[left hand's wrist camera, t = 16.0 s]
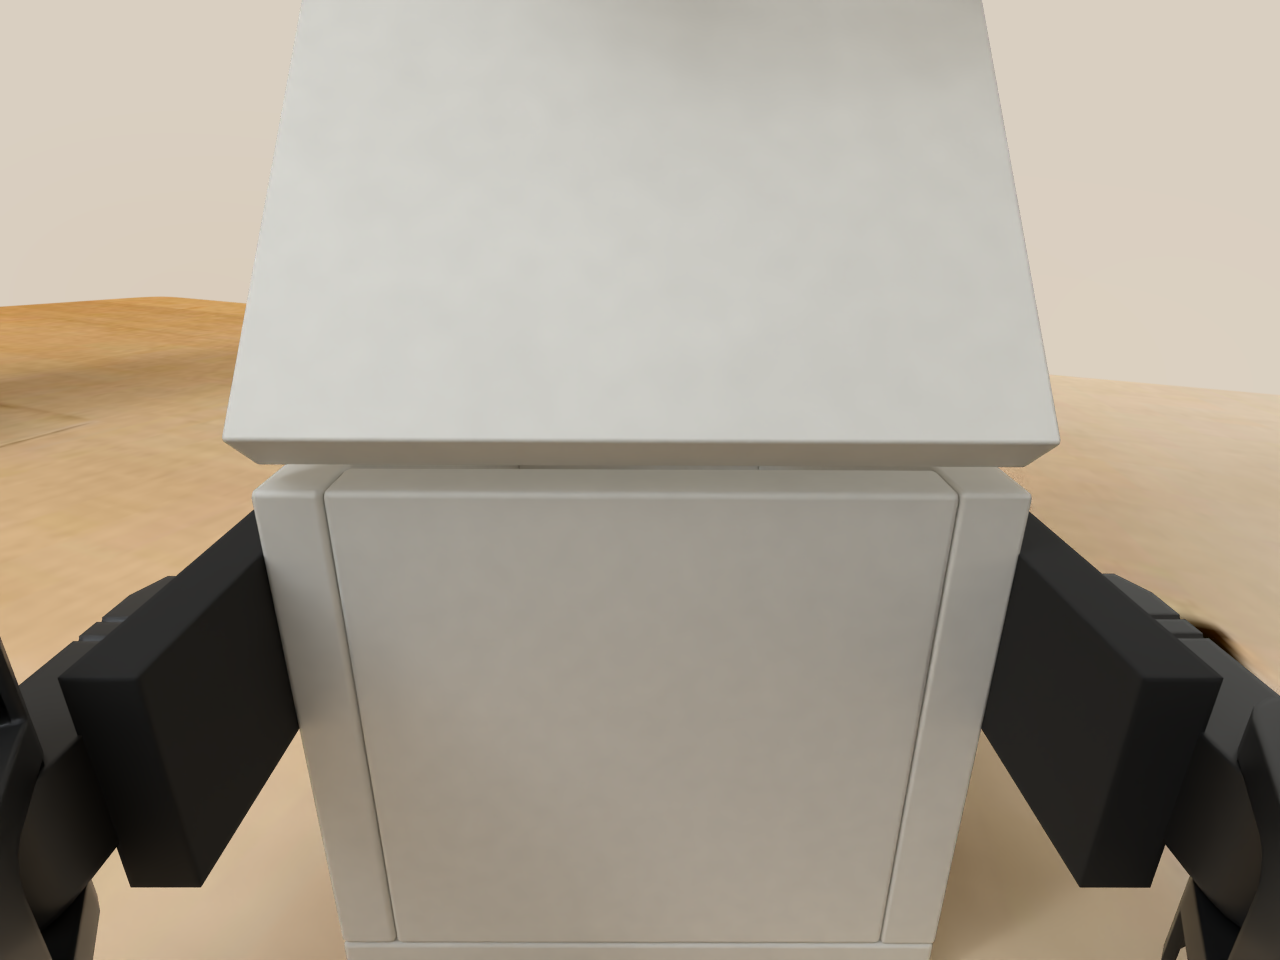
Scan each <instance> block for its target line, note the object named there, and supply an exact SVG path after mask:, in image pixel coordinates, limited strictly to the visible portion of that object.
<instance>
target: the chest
mask: <svg viewBox="0 0 1280 960" xmlns="http://www.w3.org/2000/svg"><path fill="white" fill-rule="evenodd" d="M1031 500H1032V498H1031V494H1030V493H1029V492H1028V491H1026V490H1025V489H1024V488H1023V487H1021V486H1020V485H1019V484H1018V483H1016V482H1015V481H1014V480H1013V479H1012V478H1010V477H1009V476H1008V475H1007V474H1005V473H1004V472H1003V471H1002V470H1000V469H999V468H998V467H864V466H595V465H325V464H286V465H284V466H283V467H282V468H281V469H280V470H278V471H277V472H276V473H275V474H273V475H272V476H271V477H270V478H269V479H267V480H266V481H265V482H264V483H262V484H261V485H260V486H259V487H257V488H256V489H255V490H254V491H253V494H252V502H253V507H254V511H255V516H256V521H257V526H258V531H259V535H260V540H261V545H262V550H263V555H264V560H265V564H266V569H267V574H268V579H269V584H270V589H271V593H272V598H273V603H274V608H275V613H276V618H277V622H278V627H279V632H280V637H281V642H282V647H283V651H284V656H285V661H286V666H287V671H288V676H289V680H290V685H291V690H292V695H293V700H294V705H295V709H296V714H297V719H298V724H299V729H300V734H301V738H302V743H303V748H304V753H305V758H306V763H307V767H308V772H309V777H310V782H311V787H312V791H313V796H314V801H315V806H316V811H317V816H318V820H319V825H320V830H321V835H322V840H323V845H324V849H325V854H326V859H327V864H328V869H329V874H330V878H331V883H332V888H333V893H334V898H335V903H336V907H337V912H338V917H339V922H340V927H341V932H342V936H343V939H344V940H345V943H344V944H345V951H346V956H347V960H930V956H931V951H932V943H933V942H934V941H935V937H936V932H937V927H938V923H939V918H940V914H941V909H942V905H943V900H944V896H945V891H946V887H947V882H948V877H949V873H950V868H951V864H952V859H953V855H954V850H955V846H956V841H957V836H958V832H959V827H960V823H961V818H962V814H963V809H964V805H965V800H966V796H967V791H968V786H969V782H970V777H971V773H972V768H973V764H974V759H975V755H976V750H977V745H978V741H979V736H980V732H981V727H982V722H983V718H984V713H985V709H986V704H987V699H988V695H989V690H990V685H991V681H992V676H993V671H994V667H995V662H996V657H997V653H998V648H999V643H1000V639H1001V634H1002V630H1003V625H1004V620H1005V616H1006V611H1007V606H1008V602H1009V597H1010V592H1011V588H1012V583H1013V578H1014V574H1015V569H1016V564H1017V560H1018V555H1019V554H1020V550H1021V545H1022V541H1023V536H1024V532H1025V527H1026V523H1027V518H1028V513H1029V509H1030V504H1031Z"/></svg>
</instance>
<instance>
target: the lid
mask: <svg viewBox="0 0 1280 960" xmlns="http://www.w3.org/2000/svg"><path fill="white" fill-rule="evenodd" d="M222 438H223V441H224V442H225V443H227V444H228V445H230V446H231V447H233V448H234V449H236V450H237V451H239V452H240V453H242V454H243V455H245V456H246V457H248V458H249V459H251V460H252V461H254V462H255V463H257V464H325V465H595V466H864V467H1025V466H1027V465H1028V464H1030V463H1031V462H1033V461H1034V460H1036V459H1038V458H1039V457H1041V456H1042V455H1044V454H1045V453H1047V452H1048V451H1050V450H1052V449H1053V448H1055V447H1056V446H1058V445H1059V444H1060V435H1059V429H1058V424H1057V418H1056V413H1055V407H1054V401H1053V396H1052V390H1051V385H1050V379H1049V373H1048V368H1047V363H1046V357H1045V351H1044V345H1043V340H1042V334H1041V329H1040V323H1039V318H1038V312H1037V307H1036V301H1035V295H1034V290H1033V284H1032V278H1031V273H1030V267H1029V262H1028V256H1027V250H1026V245H1025V239H1024V234H1023V228H1022V222H1021V217H1020V211H1019V206H1018V200H1017V195H1016V189H1015V183H1014V178H1013V172H1012V166H1011V161H1010V155H1009V150H1008V144H1007V138H1006V133H1005V128H1004V122H1003V116H1002V111H1001V105H1000V99H999V94H998V88H997V82H996V77H995V71H994V66H993V60H992V55H991V49H990V43H989V38H988V32H987V27H986V21H985V15H984V10H983V4H982V0H302V3H301V9H300V14H299V20H298V25H297V31H296V36H295V41H294V47H293V53H292V58H291V63H290V69H289V74H288V80H287V85H286V91H285V96H284V102H283V107H282V113H281V118H280V124H279V129H278V135H277V140H276V146H275V151H274V157H273V162H272V168H271V173H270V178H269V184H268V189H267V195H266V200H265V206H264V211H263V217H262V222H261V228H260V233H259V239H258V244H257V250H256V255H255V261H254V266H253V272H252V277H251V283H250V288H249V294H248V299H247V305H246V310H245V316H244V321H243V326H242V332H241V337H240V343H239V348H238V354H237V359H236V365H235V370H234V376H233V381H232V387H231V392H230V398H229V403H228V409H227V414H226V420H225V425H224V431H223V436H222Z"/></svg>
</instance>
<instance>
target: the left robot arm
mask: <svg viewBox="0 0 1280 960" xmlns="http://www.w3.org/2000/svg"><path fill="white" fill-rule="evenodd" d="M981 729H982V730H983V732H984V734H985V735H986V737H987V738H988V740H989V742H990V743H991V745H992V746H993V748H994V750H995V751H996V753H997V754H998V756H999V758H1000V759H1001V761H1002V763H1003V764H1004V766H1005V767H1006V769H1007V771H1008V772H1009V774H1010V775H1011V777H1012V779H1013V780H1014V782H1015V784H1016V785H1017V787H1018V788H1019V790H1020V792H1021V793H1022V795H1023V796H1024V798H1025V800H1026V801H1027V803H1028V804H1029V806H1030V808H1031V809H1032V811H1033V813H1034V814H1035V816H1036V817H1037V819H1038V821H1039V822H1040V824H1041V825H1042V827H1043V829H1044V830H1045V832H1046V834H1047V835H1048V837H1049V838H1050V840H1051V842H1052V843H1053V845H1054V846H1055V848H1056V850H1057V851H1058V853H1059V854H1060V856H1061V858H1062V859H1063V861H1064V863H1065V864H1066V866H1067V867H1068V869H1069V871H1070V872H1071V874H1072V875H1073V877H1074V879H1075V880H1076V882H1077V884H1078V885H1079V887H1128V888H1150V887H1151V884H1152V881H1153V878H1154V875H1155V872H1156V870H1157V867H1158V864H1159V861H1160V858H1161V855H1162V852H1163V850H1164V847H1165V844H1166V846H1167V847H1168V848H1169V850H1170V851H1171V852H1172V853H1173V855H1174V856H1175V857H1176V858H1177V860H1178V861H1179V862H1180V863H1181V865H1182V866H1183V867H1184V869H1185V870H1186V871H1187V872H1188V874H1189V875H1190V877H1189V880H1188V882H1187V885H1186V888H1185V890H1184V893H1183V896H1182V898H1181V901H1180V904H1179V906H1178V909H1177V912H1176V914H1175V917H1174V920H1173V922H1172V925H1171V928H1170V930H1169V933H1168V936H1167V938H1166V941H1165V944H1164V948H1163V953H1162V959H1161V960H1176V958H1177V956H1178V953H1179V951H1180V949H1181V948H1183V947H1185V946H1186V952H1187V959H1188V960H1280V696H1279V695H1278V694H1277V693H1276V692H1274V691H1273V690H1272V689H1271V688H1269V687H1268V686H1267V685H1266V684H1264V683H1263V682H1262V681H1261V680H1259V679H1258V678H1257V677H1256V676H1255V675H1253V674H1252V673H1251V672H1250V671H1248V670H1247V669H1246V668H1245V667H1243V666H1242V665H1241V664H1240V663H1238V662H1237V661H1236V660H1235V659H1234V658H1232V657H1231V656H1230V655H1229V654H1227V653H1226V652H1225V651H1224V650H1222V649H1221V648H1220V647H1219V646H1217V645H1216V644H1215V643H1214V642H1212V641H1211V640H1210V639H1204V638H1203V633H1201V632H1200V631H1199V630H1198V629H1196V628H1195V627H1194V626H1193V625H1191V624H1190V623H1189V622H1188V621H1187V620H1185V619H1180V615H1179V614H1178V613H1177V612H1175V611H1174V610H1173V609H1172V608H1170V607H1169V606H1168V605H1167V604H1165V603H1164V602H1163V601H1162V600H1161V599H1159V598H1158V597H1157V596H1156V595H1154V594H1153V593H1152V592H1150V591H1148V590H1146V589H1144V588H1142V587H1140V586H1138V585H1136V584H1134V583H1132V582H1130V581H1128V580H1126V579H1124V578H1121V577H1119V576H1117V575H1115V574H1102V573H1100V572H1099V571H1098V570H1097V569H1096V568H1095V567H1093V566H1092V565H1091V564H1090V563H1089V562H1088V561H1086V560H1085V559H1084V558H1083V557H1082V556H1081V555H1079V554H1078V553H1077V552H1076V551H1075V550H1074V549H1072V548H1071V547H1070V546H1069V545H1068V544H1067V543H1065V542H1064V541H1063V540H1062V539H1061V538H1059V537H1058V536H1057V535H1056V534H1055V533H1054V532H1052V531H1051V530H1050V529H1049V528H1048V527H1047V526H1045V525H1044V524H1043V523H1042V522H1041V521H1040V520H1038V519H1037V518H1036V517H1035V516H1034V515H1033V514H1031V513H1030V512H1029V513H1028V518H1027V523H1026V527H1025V532H1024V536H1023V541H1022V545H1021V550H1020V554H1019V555H1018V560H1017V564H1016V569H1015V574H1014V578H1013V583H1012V588H1011V592H1010V597H1009V602H1008V606H1007V611H1006V616H1005V620H1004V625H1003V630H1002V634H1001V639H1000V643H999V648H998V653H997V657H996V662H995V667H994V671H993V676H992V681H991V685H990V690H989V695H988V699H987V704H986V709H985V713H984V718H983V722H982V727H981ZM298 730H299V724H298V719H297V714H296V709H295V705H294V700H293V695H292V690H291V685H290V680H289V676H288V671H287V666H286V661H285V656H284V651H283V647H282V642H281V637H280V632H279V627H278V622H277V618H276V613H275V608H274V603H273V598H272V593H271V589H270V584H269V579H268V574H267V569H266V564H265V560H264V555H263V550H262V545H261V540H260V535H259V531H258V526H257V521H256V516H255V511H254V510H253V511H252V512H250V513H249V514H248V515H247V516H246V517H245V518H243V519H242V520H241V521H240V522H239V523H238V524H236V525H235V526H234V527H233V528H232V529H231V530H229V531H228V532H227V533H226V534H225V535H224V536H222V537H221V538H220V539H219V540H218V541H217V542H215V543H214V544H213V545H212V546H211V547H210V548H208V549H207V550H206V551H205V552H204V553H203V554H201V555H200V556H199V557H198V558H197V559H196V560H194V561H193V562H192V563H191V564H190V565H189V566H187V567H186V568H185V569H184V570H183V571H182V572H180V573H179V574H178V575H177V576H167V577H165V578H163V579H161V580H159V581H157V582H155V583H153V584H151V585H149V586H147V587H145V588H143V589H141V590H139V591H137V592H135V593H133V594H131V595H129V596H128V597H127V598H126V599H124V600H123V601H122V602H121V603H119V604H118V605H117V606H116V607H115V608H113V609H112V610H111V611H110V612H108V613H107V614H106V615H105V616H104V617H102V622H96V623H95V624H94V625H92V626H91V627H90V628H89V629H88V630H86V631H85V632H84V633H83V634H81V635H80V636H79V641H73V642H72V643H70V644H69V645H68V646H67V647H66V648H64V649H63V650H62V651H61V652H59V653H58V654H57V655H56V656H54V657H53V658H52V659H51V660H50V661H48V662H47V663H46V664H45V665H43V666H42V667H41V668H40V669H39V670H37V671H36V672H35V673H34V674H32V675H31V676H30V677H29V678H27V679H26V680H25V681H24V682H23V683H21V684H20V685H19V686H18V683H17V680H16V678H15V675H14V672H13V670H12V667H11V664H10V662H9V659H8V656H7V654H6V651H5V648H4V646H3V643H2V640H1V638H0V960H93V955H94V948H95V941H96V934H97V927H98V921H99V914H100V908H99V902H98V897H97V893H96V890H95V888H94V885H93V882H92V880H91V879H92V878H93V876H94V875H95V874H96V873H97V871H98V870H99V869H100V868H101V866H102V865H103V864H104V862H105V861H106V860H107V859H108V857H109V856H110V855H111V853H112V852H113V851H114V850H115V848H116V847H117V850H118V852H119V855H120V858H121V861H122V864H123V867H124V870H125V872H126V875H127V878H128V881H129V884H130V887H201V886H202V885H203V883H204V882H205V880H206V878H207V877H208V875H209V873H210V872H211V870H212V869H213V867H214V865H215V864H216V862H217V861H218V859H219V857H220V856H221V854H222V852H223V851H224V849H225V848H226V846H227V844H228V843H229V841H230V840H231V838H232V836H233V835H234V833H235V831H236V830H237V828H238V827H239V825H240V823H241V822H242V820H243V819H244V817H245V815H246V814H247V812H248V811H249V809H250V807H251V806H252V804H253V802H254V801H255V799H256V798H257V796H258V794H259V793H260V791H261V790H262V788H263V786H264V785H265V783H266V781H267V780H268V778H269V777H270V775H271V773H272V772H273V770H274V769H275V767H276V765H277V764H278V762H279V760H280V759H281V757H282V756H283V754H284V752H285V751H286V749H287V748H288V746H289V744H290V743H291V741H292V739H293V738H294V736H295V735H296V733H297V731H298Z"/></svg>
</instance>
